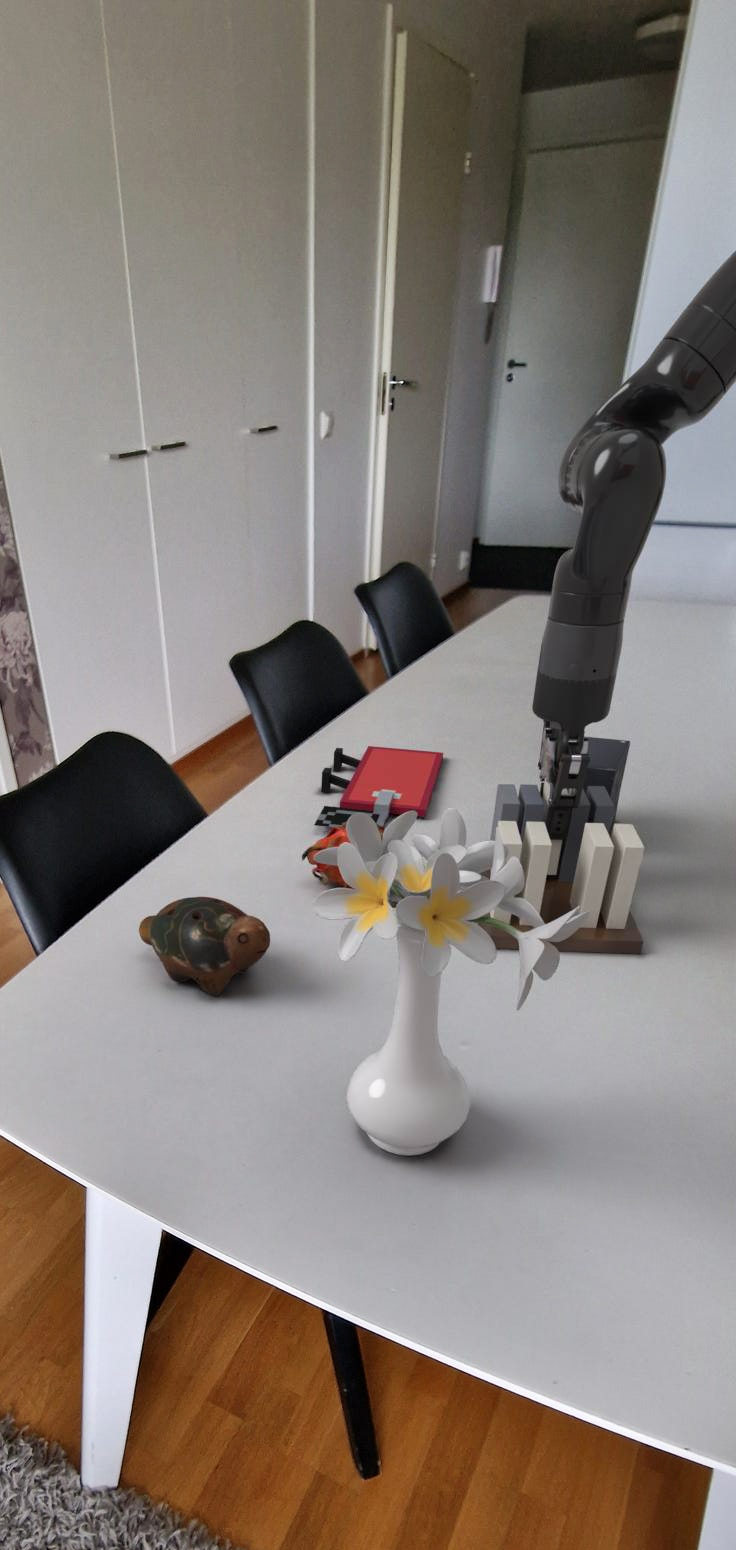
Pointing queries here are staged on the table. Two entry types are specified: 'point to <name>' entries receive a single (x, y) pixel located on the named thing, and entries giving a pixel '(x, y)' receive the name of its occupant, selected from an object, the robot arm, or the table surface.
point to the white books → (579, 870)
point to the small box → (607, 767)
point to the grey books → (530, 808)
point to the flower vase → (426, 960)
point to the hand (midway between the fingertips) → (550, 825)
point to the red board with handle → (381, 784)
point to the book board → (580, 940)
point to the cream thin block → (555, 843)
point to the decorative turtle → (205, 940)
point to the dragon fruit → (331, 840)
